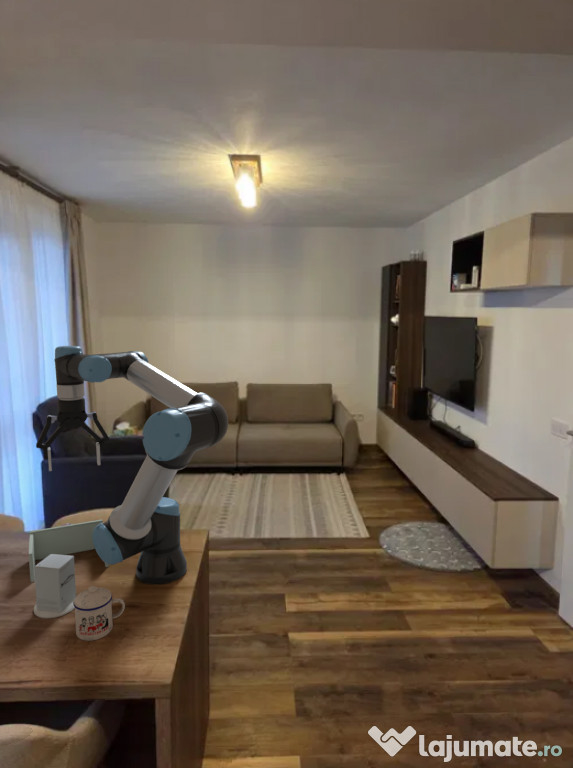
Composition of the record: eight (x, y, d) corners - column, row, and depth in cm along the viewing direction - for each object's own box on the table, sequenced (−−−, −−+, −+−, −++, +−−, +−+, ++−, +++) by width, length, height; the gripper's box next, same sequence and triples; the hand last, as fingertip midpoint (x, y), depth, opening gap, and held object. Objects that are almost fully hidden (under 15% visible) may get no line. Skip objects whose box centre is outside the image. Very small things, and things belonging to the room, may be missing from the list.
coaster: (86, 596, 140) (86, 594, 140) (62, 620, 130) (62, 618, 130) (50, 592, 142) (50, 590, 142) (24, 616, 131) (24, 613, 131)
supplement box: (61, 613, 132) (58, 568, 130) (35, 610, 133) (32, 566, 131) (77, 597, 139) (74, 555, 137) (53, 595, 140) (50, 552, 138)
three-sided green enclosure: (31, 559, 161) (29, 531, 160) (103, 545, 171) (102, 519, 169) (30, 582, 148) (28, 552, 146) (109, 566, 157) (107, 537, 156)
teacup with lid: (75, 646, 120) (72, 601, 118) (75, 624, 128) (72, 582, 127) (127, 633, 125) (125, 590, 123) (123, 613, 133) (122, 572, 131)
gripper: (113, 393, 157) (116, 458, 160) (24, 398, 146) (29, 468, 149) (116, 397, 150) (119, 465, 153) (23, 403, 140) (28, 476, 143)
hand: (75, 466), depth 151 cm, fingers open, 13 cm apart
